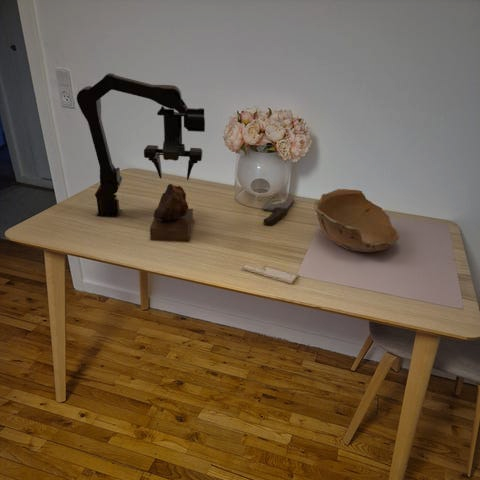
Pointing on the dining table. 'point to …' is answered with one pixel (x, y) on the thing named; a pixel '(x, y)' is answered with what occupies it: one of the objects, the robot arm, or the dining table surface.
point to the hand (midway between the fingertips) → (174, 179)
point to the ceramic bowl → (354, 221)
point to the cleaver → (276, 210)
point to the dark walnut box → (172, 228)
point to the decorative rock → (172, 204)
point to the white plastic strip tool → (273, 273)
